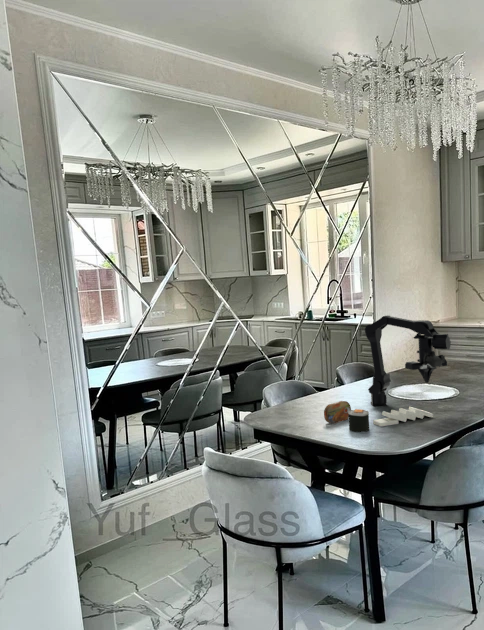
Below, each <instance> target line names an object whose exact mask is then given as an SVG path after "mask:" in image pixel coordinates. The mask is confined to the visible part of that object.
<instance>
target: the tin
mask: <svg viewBox="0 0 484 630" xmlns="http://www.w3.org/2000/svg"><path fill="white" fill-rule="evenodd" d="M351 410H352V406H351V404H350V403H349V402H348V401H347V400H344V401H343V400H340V401H337V402H333V403H329V404H327V405H326V406H325V408H324V410H323V417H324V420H325V421H326V422H327V423H329V424H332V425H334V424H335V425H336V424H338V423H341V422H344V421H347V420H349V415H348V411H351Z"/></svg>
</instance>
